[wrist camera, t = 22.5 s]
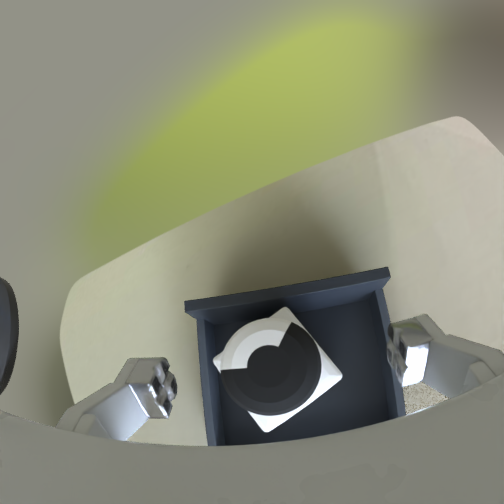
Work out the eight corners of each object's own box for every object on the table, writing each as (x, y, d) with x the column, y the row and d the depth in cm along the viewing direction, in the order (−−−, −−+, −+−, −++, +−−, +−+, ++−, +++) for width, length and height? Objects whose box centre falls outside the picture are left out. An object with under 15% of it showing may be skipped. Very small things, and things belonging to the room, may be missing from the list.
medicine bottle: (334, 377, 25) (357, 374, 15) (274, 422, 24) (254, 449, 14) (289, 322, 28) (280, 282, 18) (231, 365, 28) (185, 351, 17)
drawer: (392, 425, 24) (420, 437, 16) (224, 451, 25) (198, 470, 18) (369, 294, 30) (388, 266, 23) (211, 320, 32) (184, 300, 25)
